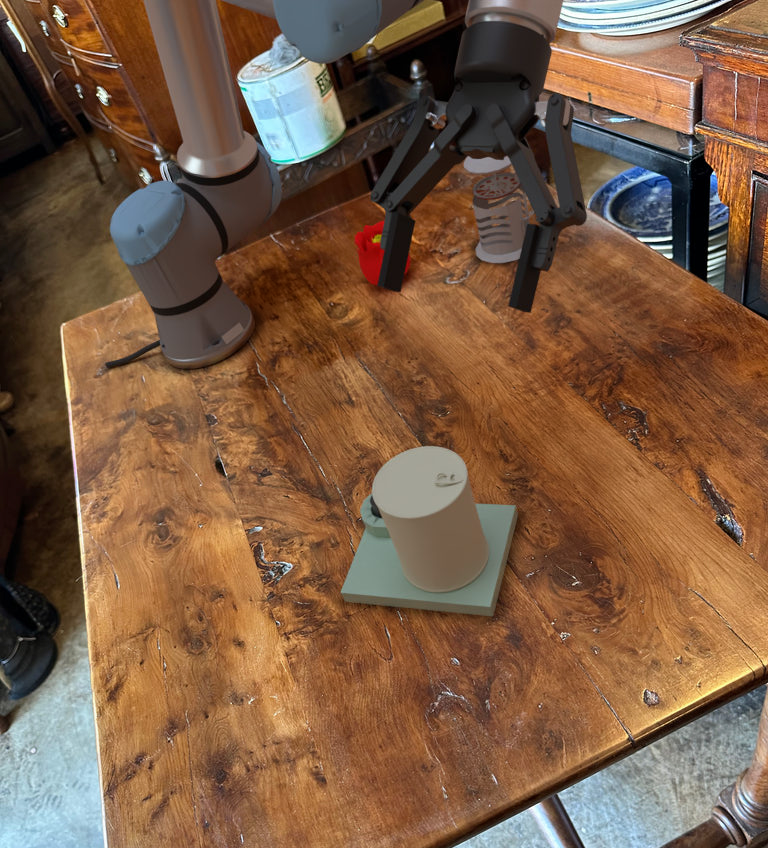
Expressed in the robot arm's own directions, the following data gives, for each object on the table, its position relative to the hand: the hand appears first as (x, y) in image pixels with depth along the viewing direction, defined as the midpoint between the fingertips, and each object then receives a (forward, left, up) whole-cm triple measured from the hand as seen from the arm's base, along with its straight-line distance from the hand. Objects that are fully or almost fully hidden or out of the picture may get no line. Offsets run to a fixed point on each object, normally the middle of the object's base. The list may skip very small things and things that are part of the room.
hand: (450, 299), depth 69 cm
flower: (-26, +44, -26) cm, 57 cm away
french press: (-8, +51, -26) cm, 58 cm away
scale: (-5, -9, -26) cm, 28 cm away
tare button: (-11, -5, -23) cm, 26 cm away
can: (-3, -10, -24) cm, 26 cm away
